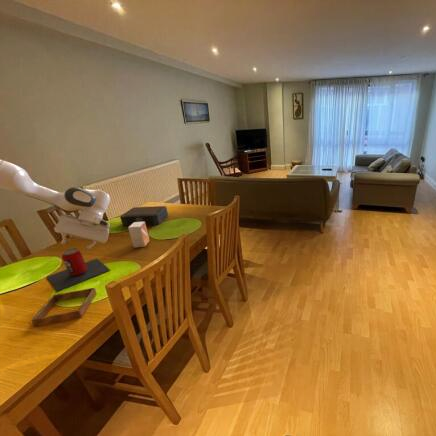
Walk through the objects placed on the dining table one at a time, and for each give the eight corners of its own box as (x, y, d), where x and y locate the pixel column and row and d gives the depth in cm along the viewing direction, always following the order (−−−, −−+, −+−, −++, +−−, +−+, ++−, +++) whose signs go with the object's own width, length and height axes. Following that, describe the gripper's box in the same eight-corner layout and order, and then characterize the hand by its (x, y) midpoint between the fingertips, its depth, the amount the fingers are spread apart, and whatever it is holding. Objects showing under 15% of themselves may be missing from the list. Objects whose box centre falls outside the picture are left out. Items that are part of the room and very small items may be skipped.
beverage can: (69, 272, 116) (60, 251, 112) (87, 267, 121) (79, 246, 116) (70, 278, 112) (60, 256, 107) (88, 273, 116) (79, 251, 111)
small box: (145, 246, 141) (139, 226, 136) (133, 247, 140) (127, 227, 135) (150, 240, 148) (145, 221, 143) (138, 241, 147) (133, 222, 142)
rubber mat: (57, 292, 104) (56, 291, 104) (47, 277, 114) (46, 276, 114) (110, 270, 119) (109, 269, 119) (97, 259, 129) (96, 258, 128)
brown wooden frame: (34, 327, 86) (31, 320, 85) (56, 301, 99) (53, 294, 97) (82, 317, 90) (79, 310, 89) (96, 293, 103) (94, 287, 102)
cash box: (121, 227, 167) (118, 216, 164) (135, 216, 186) (132, 207, 183) (159, 225, 170) (156, 215, 167) (169, 214, 188) (167, 205, 186)
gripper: (62, 210, 111) (46, 238, 105) (113, 225, 122) (101, 251, 116) (62, 214, 115) (47, 241, 109) (112, 228, 127) (100, 253, 121)
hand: (75, 246), depth 113 cm, fingers open, 8 cm apart
